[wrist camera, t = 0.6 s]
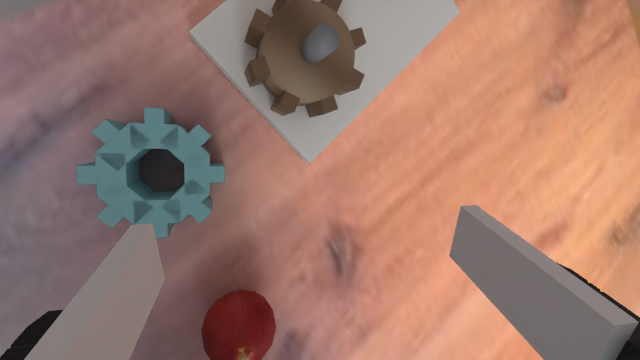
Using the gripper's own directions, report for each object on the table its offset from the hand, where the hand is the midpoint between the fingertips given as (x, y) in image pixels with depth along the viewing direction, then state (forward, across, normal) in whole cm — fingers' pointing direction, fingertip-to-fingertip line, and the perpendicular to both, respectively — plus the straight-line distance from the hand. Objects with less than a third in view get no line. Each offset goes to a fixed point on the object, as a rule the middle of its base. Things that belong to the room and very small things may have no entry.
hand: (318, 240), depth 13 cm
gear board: (+20, -5, -10) cm, 23 cm away
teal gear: (+14, +10, +2) cm, 17 cm away
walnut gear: (+16, -1, -7) cm, 18 cm away
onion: (+12, +6, +14) cm, 19 cm away
